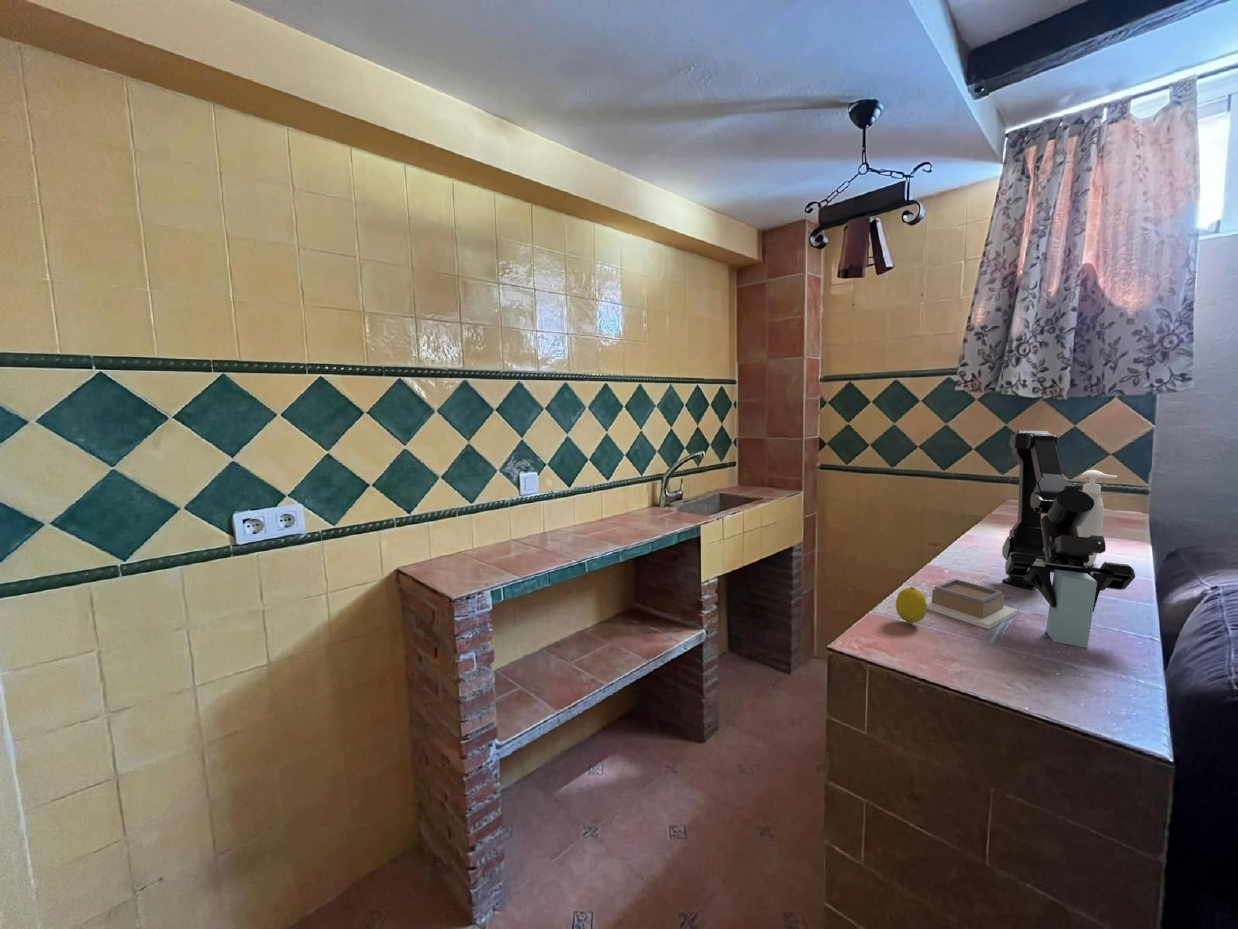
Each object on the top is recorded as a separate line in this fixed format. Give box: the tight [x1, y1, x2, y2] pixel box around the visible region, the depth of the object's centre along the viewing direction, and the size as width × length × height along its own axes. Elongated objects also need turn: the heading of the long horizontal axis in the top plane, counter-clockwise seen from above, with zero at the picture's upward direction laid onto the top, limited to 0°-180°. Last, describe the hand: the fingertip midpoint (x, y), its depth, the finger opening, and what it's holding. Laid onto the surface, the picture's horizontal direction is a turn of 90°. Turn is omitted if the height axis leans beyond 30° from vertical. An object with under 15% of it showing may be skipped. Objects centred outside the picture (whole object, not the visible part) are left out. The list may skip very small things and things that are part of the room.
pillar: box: [1045, 569, 1097, 649], centre depth 97 cm, size 5×5×13 cm
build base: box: [925, 578, 1018, 630], centre depth 111 cm, size 14×14×5 cm
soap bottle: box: [1077, 469, 1118, 567], centre depth 143 cm, size 14×8×27 cm, turn 139°
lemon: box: [895, 586, 928, 625], centre depth 104 cm, size 6×6×8 cm
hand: (1072, 609), depth 96 cm, fingers closed on pillar, 5 cm apart
